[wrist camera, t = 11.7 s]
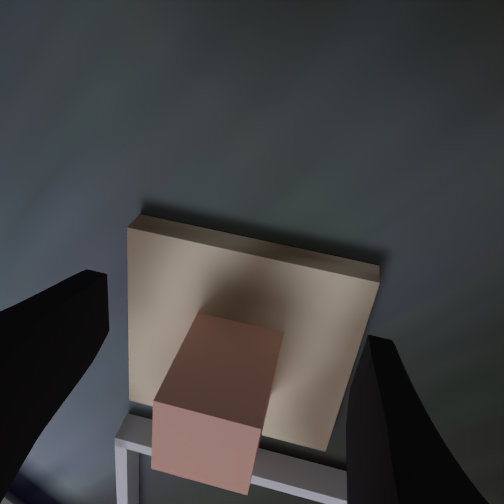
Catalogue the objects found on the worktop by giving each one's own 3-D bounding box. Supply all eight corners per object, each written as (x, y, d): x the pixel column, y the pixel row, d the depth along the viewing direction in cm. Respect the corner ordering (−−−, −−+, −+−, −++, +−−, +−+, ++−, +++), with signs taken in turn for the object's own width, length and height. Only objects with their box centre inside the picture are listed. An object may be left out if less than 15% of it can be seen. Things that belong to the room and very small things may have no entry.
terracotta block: (284, 332, 24) (261, 429, 19) (270, 394, 26) (247, 495, 21) (197, 312, 25) (153, 400, 20) (192, 374, 27) (151, 468, 22)
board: (379, 265, 23) (379, 282, 22) (327, 430, 29) (325, 451, 28) (139, 213, 24) (126, 227, 23) (139, 382, 30) (129, 400, 29)
